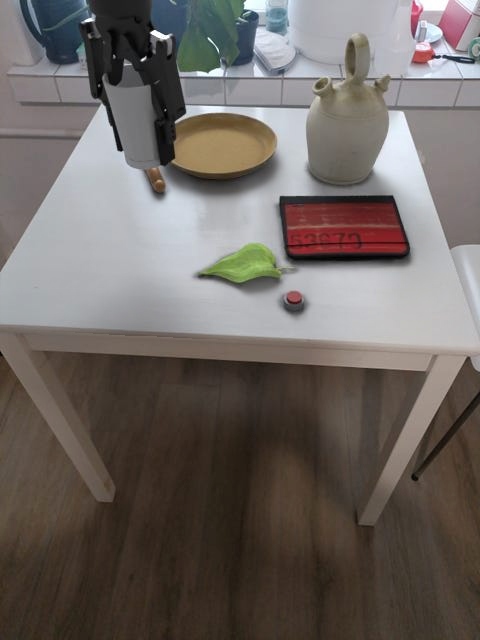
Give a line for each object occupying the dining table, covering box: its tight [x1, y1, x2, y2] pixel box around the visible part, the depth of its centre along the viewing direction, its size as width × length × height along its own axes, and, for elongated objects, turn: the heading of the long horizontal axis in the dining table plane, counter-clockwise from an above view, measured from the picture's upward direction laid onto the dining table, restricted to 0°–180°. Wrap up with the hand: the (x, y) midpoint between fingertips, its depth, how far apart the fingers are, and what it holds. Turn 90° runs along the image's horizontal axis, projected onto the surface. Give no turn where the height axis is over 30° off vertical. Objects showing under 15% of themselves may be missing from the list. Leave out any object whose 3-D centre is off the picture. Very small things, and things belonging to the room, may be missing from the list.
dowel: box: [145, 167, 167, 193], centre depth 97 cm, size 14×2×2 cm, turn 20°
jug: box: [305, 32, 392, 186], centre depth 90 cm, size 15×16×25 cm
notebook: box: [278, 194, 411, 262], centre depth 85 cm, size 16×2×21 cm
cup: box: [102, 63, 162, 170], centre depth 69 cm, size 8×8×12 cm
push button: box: [283, 290, 305, 311], centre depth 74 cm, size 3×3×2 cm
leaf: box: [197, 242, 295, 284], centre depth 79 cm, size 9×16×2 cm, turn 92°
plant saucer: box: [169, 112, 278, 180], centre depth 102 cm, size 24×24×3 cm
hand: (146, 154), depth 73 cm, fingers closed on cup, 7 cm apart
